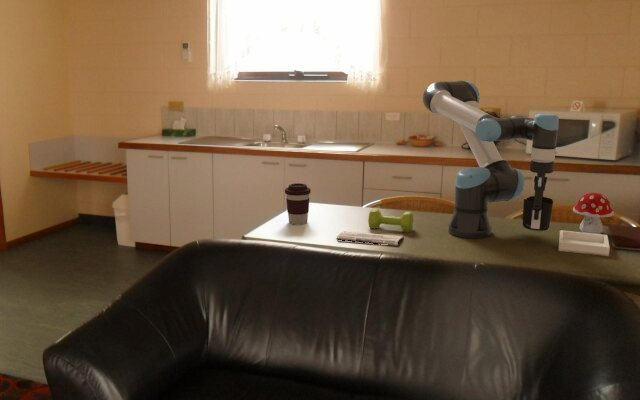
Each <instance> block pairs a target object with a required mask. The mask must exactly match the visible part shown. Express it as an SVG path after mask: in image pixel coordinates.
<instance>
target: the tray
mask: <svg viewBox="0 0 640 400" xmlns="http://www.w3.org/2000/svg"><path fill="white" fill-rule="evenodd" d="M609 243H610V242H609V237H608V234H602V233H601V234H592V233H582V232H581V231H572V230H571V231H570V230H563V229H562V230H559V237H558V252H564V253H565V252H567V253H574V254H583V255H594V256H599V257H600V256H601V257H610V249H611V248H610V244H609Z"/></svg>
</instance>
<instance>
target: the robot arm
mask: <svg viewBox="0 0 640 400" xmlns="http://www.w3.org/2000/svg"><path fill="white" fill-rule="evenodd" d="M479 96H480V92H479V89H478V88H477V86H476V85H475V84H474V83H473V82H472V81H467V80H458V81H456V80H455V81H453V80H451V81H450V80H449V81H445V80H443V81H435V82H432V83H430V84H428V86H427V87H426V88H425V90H424V91H423V93H422V103H423V105H424V107H425V108H426V109H427V110H428V111H429V112H431V113H433V114H434V115H436V116H437V115H439V116H440V115H442V116H444V117H446V118H448V119H449V120H452V121H453V122H456V123H457V124H458V126H459V128H460V130H461V132H462V135H464V138H465V140H466V142H467V144H468V146H469V148H470V151H471V153H472V155H473V156H474V158H475V161H476V163H477V164H478V167H476V166H475V167H467V168H463V169H461V170H460V171H458V172H457V174H456V178H455V182H454V183H455V190H454V191H455V193H454V209H453V213H452V217H451V219H450V221H449V224H448V230H447V231H448V233H449V234H451V235H453V236H455V237H459V238H466V239H483V238H487V237H489V236H491V235H492V226H491V222H490V218H489V215H488V214H489V213H488V206H489V204H490V203H491V204H492V203H499V202H509V201H511V200H515V199H517V198H519V197H520V196H521V194H522V193H523V191H524V186H525V177H524V174H523V172H521V170H520V169H518V168H515V167H512V166H511V164H510V162H509V161H508V159H505V158H502V157H501V154H500V152H499V151H498V148H497V146H496V144H495V142H497V141H499V142H500V141H511V140H527V141H532V143H531V145H532V146H531V151H530V166H529V171H530V172H532V173H536V175H534V179H533V182H534V186H533V190H534V195H533V196H534V205H533V208H531V210H533V212H532V222H531V228H534V229H539V228H540V218H541V204H542V197H544V192H545V191H546V184H547V181H548V176H546V174H548V175H549V174H552V173H554V169H555V162H554V160H555V157H556V155H558V151H557V150H556V149H557V141H558V134H559V133H558V131H559V128H560V127H559V124H560V123H559V121H560V120H559V116H558V114H555V113H537V114H535V116H534V117H527V116H524V115H512V116H511V117H499V118H498V117H495V116H493V115H491V114H490V113H487V112H485V111H483V110H481V109H479V103H480V97H479Z"/></svg>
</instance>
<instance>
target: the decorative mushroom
mask: <svg viewBox="0 0 640 400" xmlns="http://www.w3.org/2000/svg"><path fill="white" fill-rule="evenodd" d="M572 211H573V213H575V214H577V215H580V216H584V217H583V219H582V221H581V222H580V225H579V232H582V233H592V234H602V233H603V232H604V225H603V223H602V221H601V218H608V217H612V216H614V215H615V211H614V209H612V206H611V202H610V200H609V199H608V197H606V196H605V195H604V194H601V193H599V192H588V193H585V194H583V195H582V196H581V197H580V198H579V199H578V201H577V203H576V204H575V205H574V206H573V208H572Z"/></svg>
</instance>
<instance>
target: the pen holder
mask: <svg viewBox="0 0 640 400" xmlns="http://www.w3.org/2000/svg"><path fill="white" fill-rule="evenodd" d="M534 196H535V195H531V196H529V197H526V198H525V199H523V207H522V209H523V211H522V226H523V228H525V229H527V230H531V231H537V232H541V231H548V229H549V228H550V226H551V224H550V223H551V219H552V213H553V206H554V205H553V204H554V200H553V199H552V198H551V197H546V196H543V197H542V204H541V218H540V228H539V229H534V228H531V222H532V212H533V210H531V208H533V205H534Z"/></svg>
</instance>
